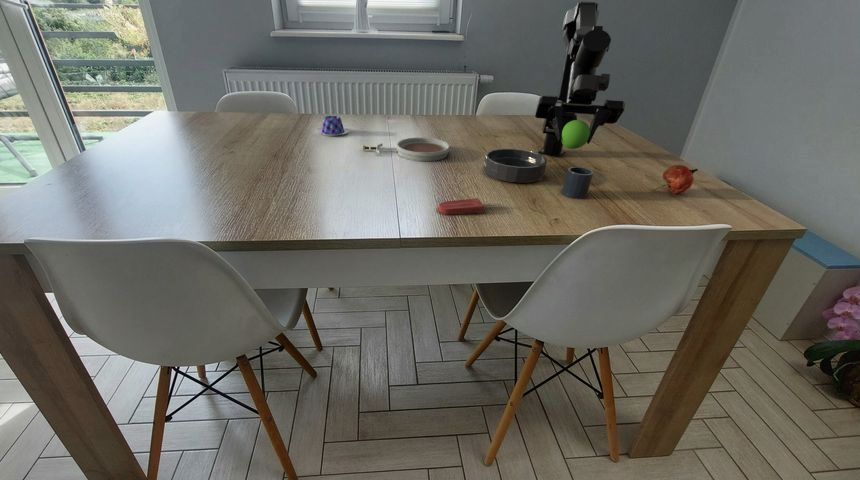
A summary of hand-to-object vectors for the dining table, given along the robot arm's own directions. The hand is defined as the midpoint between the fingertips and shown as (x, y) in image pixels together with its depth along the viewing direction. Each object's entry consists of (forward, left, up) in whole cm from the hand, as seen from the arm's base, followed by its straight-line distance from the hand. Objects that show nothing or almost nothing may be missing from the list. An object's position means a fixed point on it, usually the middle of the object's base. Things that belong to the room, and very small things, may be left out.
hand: (573, 141), depth 95 cm
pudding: (-3, -82, -13) cm, 83 cm away
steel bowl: (-5, -15, -13) cm, 20 cm away
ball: (-1, 0, +1) cm, 2 cm away
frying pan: (-1, -49, -13) cm, 51 cm away
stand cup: (-1, +3, -13) cm, 13 cm away
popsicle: (+24, -13, -13) cm, 30 cm away
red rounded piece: (-18, +22, -13) cm, 31 cm away
